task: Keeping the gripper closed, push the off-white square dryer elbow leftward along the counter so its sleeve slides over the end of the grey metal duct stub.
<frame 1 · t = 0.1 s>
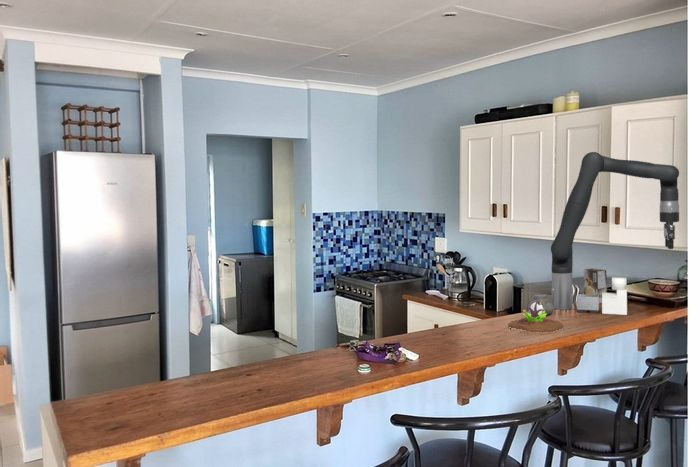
hand: (669, 247, 252), 29 cm above the countertop, fingers open, 8 cm apart
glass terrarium: (542, 316, 258), on the countertop
duct stub: (588, 311, 263), on the countertop
dryer elbow: (614, 295, 257), point 8 cm above the countertop, slide at 7.0 cm
coffee box: (595, 302, 285), on the countertop
plant: (536, 329, 237), on the countertop
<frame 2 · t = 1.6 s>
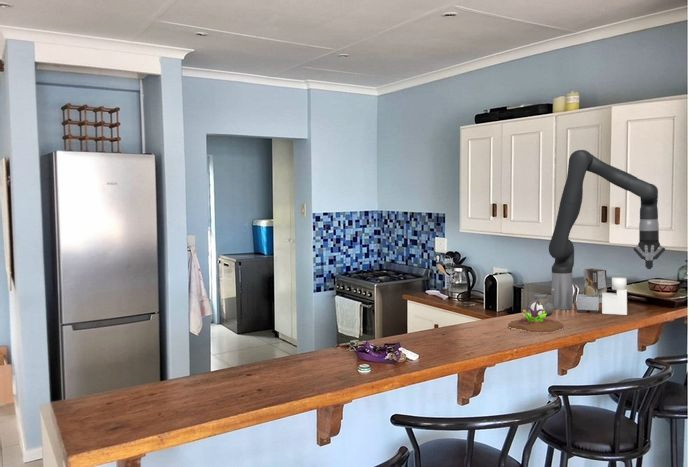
hand: (649, 268, 251), 20 cm above the countertop, fingers closed
nothing on the countertop moved.
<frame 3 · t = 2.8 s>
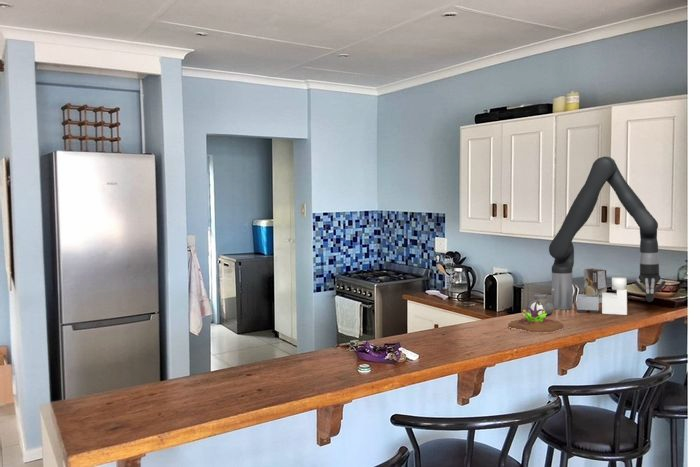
hand: (649, 301, 252), 6 cm above the countertop, fingers closed
nothing on the countertop moved.
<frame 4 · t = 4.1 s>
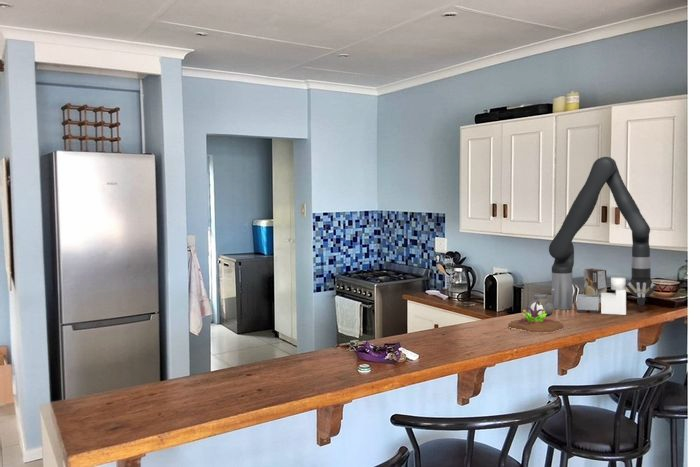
hand: (641, 305, 253), 4 cm above the countertop, fingers closed
dryer elbow: (613, 295, 258), point 8 cm above the countertop, slide at 6.6 cm, touching hand
everything else where it was.
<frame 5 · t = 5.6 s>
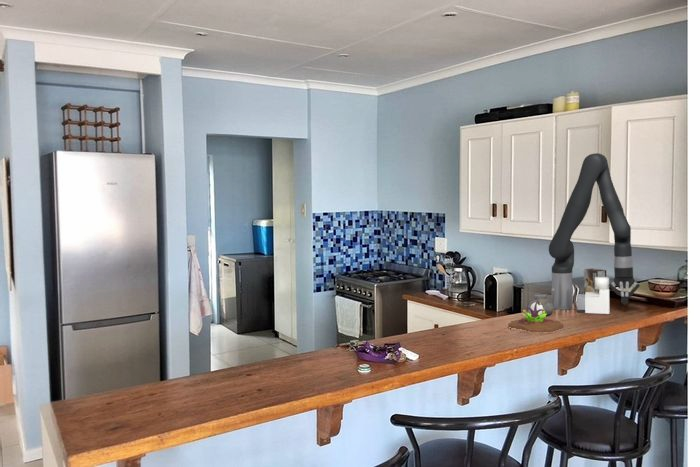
hand: (625, 304, 256), 4 cm above the countertop, fingers closed
dryer elbow: (597, 294, 260), point 8 cm above the countertop, slide at -0.1 cm, touching hand
everything else where it was.
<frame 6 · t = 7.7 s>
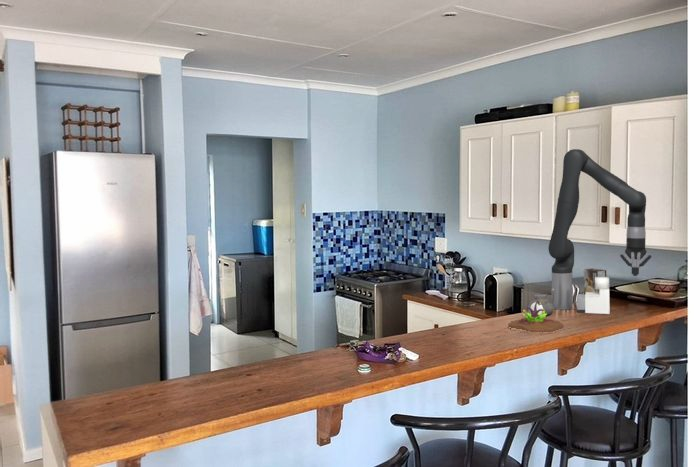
hand: (635, 275, 254), 17 cm above the countertop, fingers closed
dryer elbow: (597, 294, 260), point 8 cm above the countertop, slide at 0.0 cm
everything else where it was.
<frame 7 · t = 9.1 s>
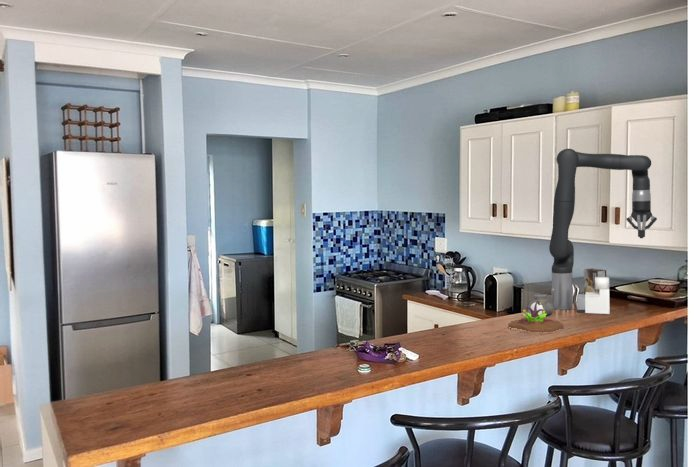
hand: (641, 238, 260), 33 cm above the countertop, fingers closed
nothing on the countertop moved.
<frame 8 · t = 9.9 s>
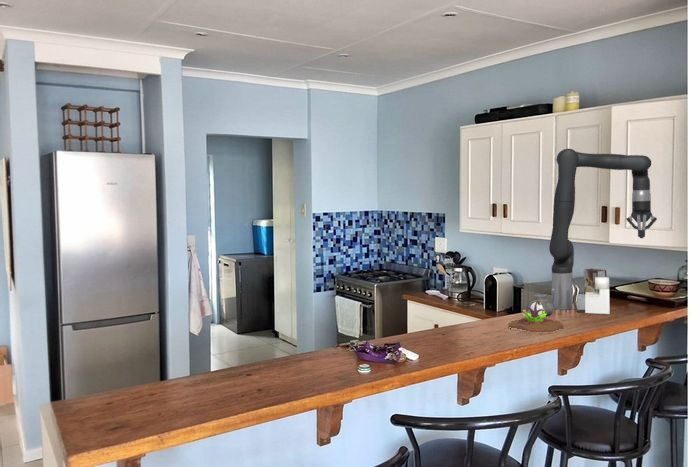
hand: (641, 238, 260), 33 cm above the countertop, fingers closed
nothing on the countertop moved.
at the end: dryer elbow slide at 0.0 cm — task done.
